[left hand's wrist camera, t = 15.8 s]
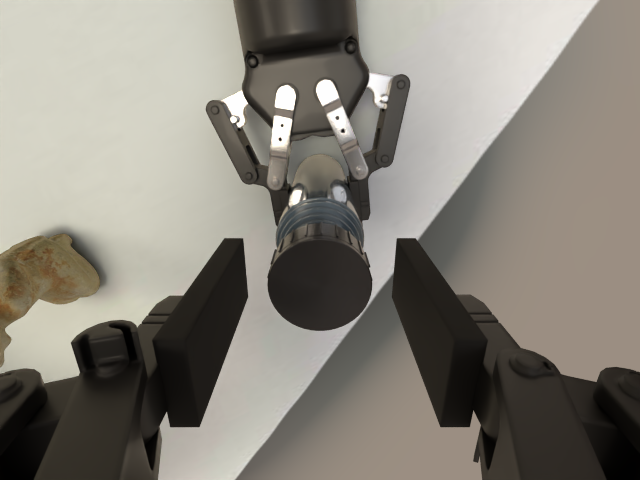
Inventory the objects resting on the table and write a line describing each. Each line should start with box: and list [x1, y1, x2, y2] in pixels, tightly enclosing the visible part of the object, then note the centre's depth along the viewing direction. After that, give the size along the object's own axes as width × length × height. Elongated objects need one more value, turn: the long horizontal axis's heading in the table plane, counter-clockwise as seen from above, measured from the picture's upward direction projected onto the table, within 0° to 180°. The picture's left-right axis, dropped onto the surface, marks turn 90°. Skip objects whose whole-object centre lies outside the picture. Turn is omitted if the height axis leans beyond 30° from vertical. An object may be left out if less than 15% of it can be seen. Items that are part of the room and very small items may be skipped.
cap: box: [268, 222, 372, 331], centre depth 14 cm, size 4×4×2 cm
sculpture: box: [0, 234, 100, 367], centre depth 28 cm, size 6×7×15 cm
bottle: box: [276, 154, 364, 248], centre depth 23 cm, size 4×4×20 cm
